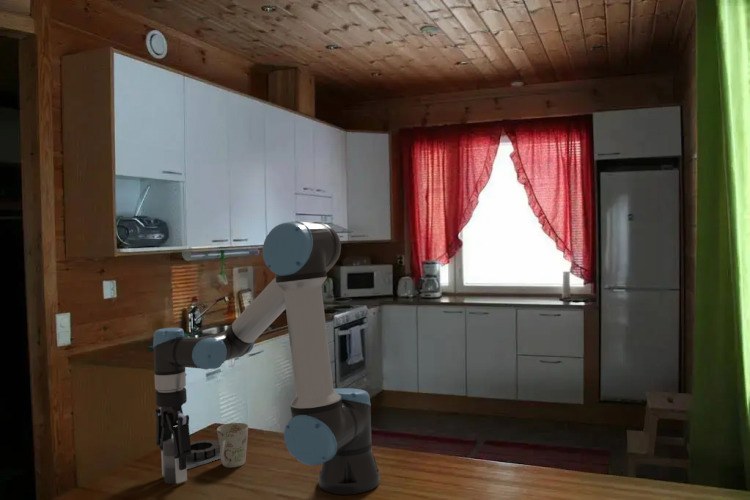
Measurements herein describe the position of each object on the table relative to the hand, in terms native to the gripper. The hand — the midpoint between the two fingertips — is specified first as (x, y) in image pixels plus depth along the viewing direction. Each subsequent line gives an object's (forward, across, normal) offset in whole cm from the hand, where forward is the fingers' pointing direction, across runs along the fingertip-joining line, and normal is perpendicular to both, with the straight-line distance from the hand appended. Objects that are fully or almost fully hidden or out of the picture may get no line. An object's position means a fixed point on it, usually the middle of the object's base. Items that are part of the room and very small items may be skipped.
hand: (174, 477), depth 157 cm
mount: (+1, +10, -13) cm, 16 cm away
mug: (+1, -3, -15) cm, 15 cm away
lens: (+1, 0, 0) cm, 1 cm away
